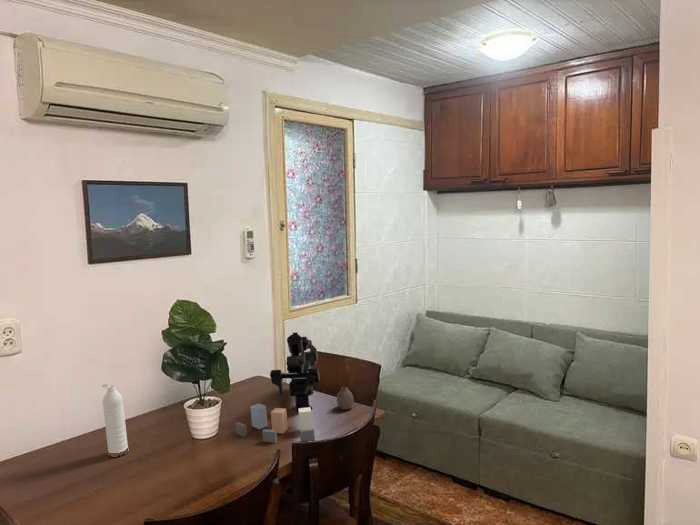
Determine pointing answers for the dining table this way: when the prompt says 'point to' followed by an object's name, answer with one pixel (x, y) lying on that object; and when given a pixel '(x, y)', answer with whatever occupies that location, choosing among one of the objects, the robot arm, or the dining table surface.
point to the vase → (345, 399)
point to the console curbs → (274, 433)
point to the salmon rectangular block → (279, 420)
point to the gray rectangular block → (258, 416)
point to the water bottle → (114, 420)
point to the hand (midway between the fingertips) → (292, 393)
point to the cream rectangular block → (305, 418)
